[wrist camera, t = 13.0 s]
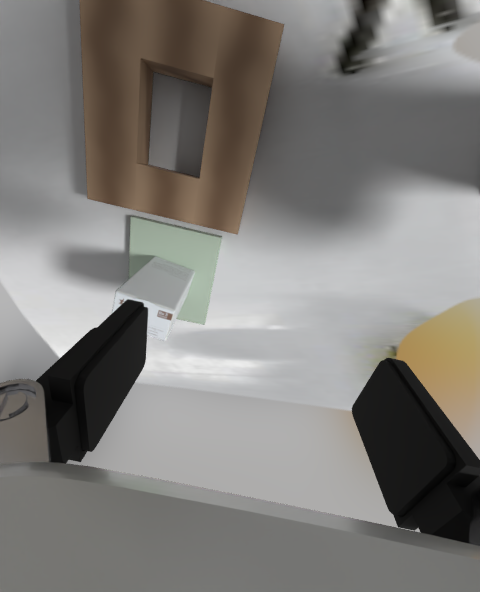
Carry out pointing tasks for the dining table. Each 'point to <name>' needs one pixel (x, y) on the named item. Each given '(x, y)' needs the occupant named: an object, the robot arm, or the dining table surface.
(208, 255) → the mat
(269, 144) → the dining table surface
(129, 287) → the skincare box
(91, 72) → the pocket block
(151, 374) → the dining table surface
